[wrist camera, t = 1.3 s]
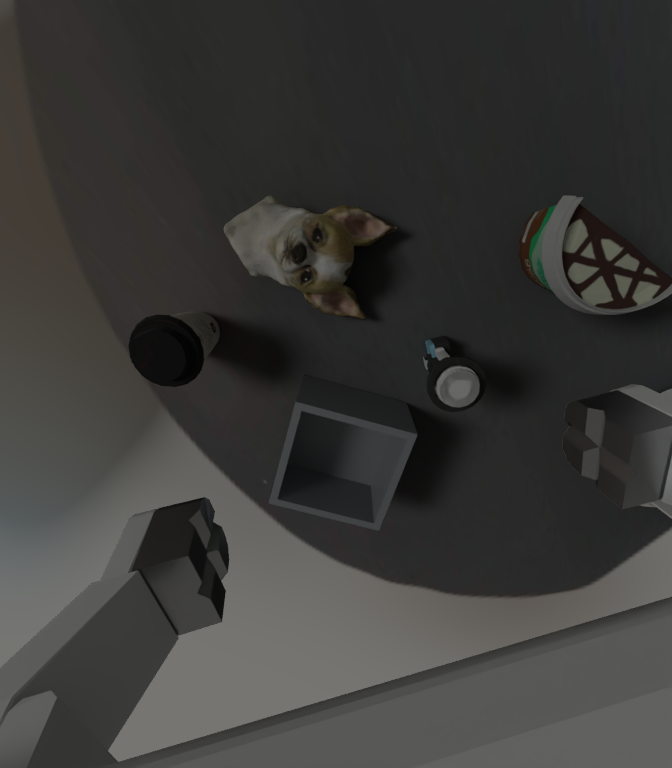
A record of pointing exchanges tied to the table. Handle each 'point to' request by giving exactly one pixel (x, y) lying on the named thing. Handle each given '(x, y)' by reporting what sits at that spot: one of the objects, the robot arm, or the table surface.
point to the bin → (343, 453)
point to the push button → (452, 377)
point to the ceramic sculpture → (306, 249)
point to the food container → (588, 262)
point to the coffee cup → (173, 346)
